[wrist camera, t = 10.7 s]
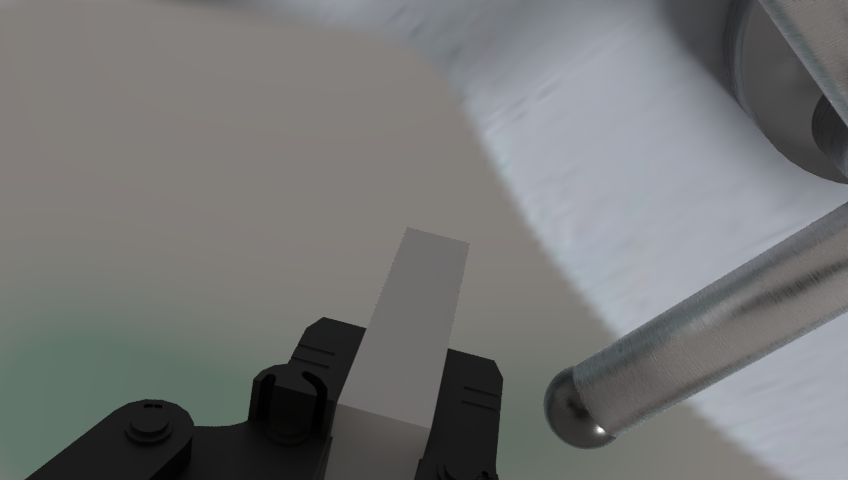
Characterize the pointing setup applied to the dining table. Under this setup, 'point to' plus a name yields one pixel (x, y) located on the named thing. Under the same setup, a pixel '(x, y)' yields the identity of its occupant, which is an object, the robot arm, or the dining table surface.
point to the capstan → (763, 275)
